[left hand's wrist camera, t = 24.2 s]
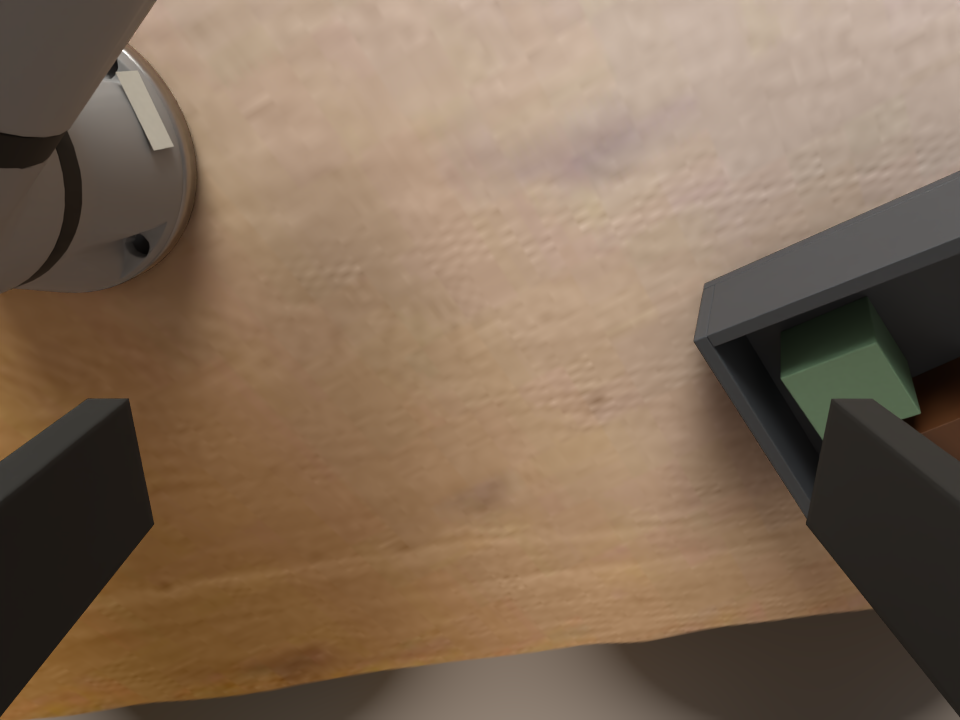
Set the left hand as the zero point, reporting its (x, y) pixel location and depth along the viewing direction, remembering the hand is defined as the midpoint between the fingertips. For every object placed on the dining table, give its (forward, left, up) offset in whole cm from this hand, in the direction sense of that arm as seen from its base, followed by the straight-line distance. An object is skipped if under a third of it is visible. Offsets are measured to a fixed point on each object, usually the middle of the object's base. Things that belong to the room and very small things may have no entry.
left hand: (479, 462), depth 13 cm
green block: (+19, -9, -24) cm, 32 cm away
